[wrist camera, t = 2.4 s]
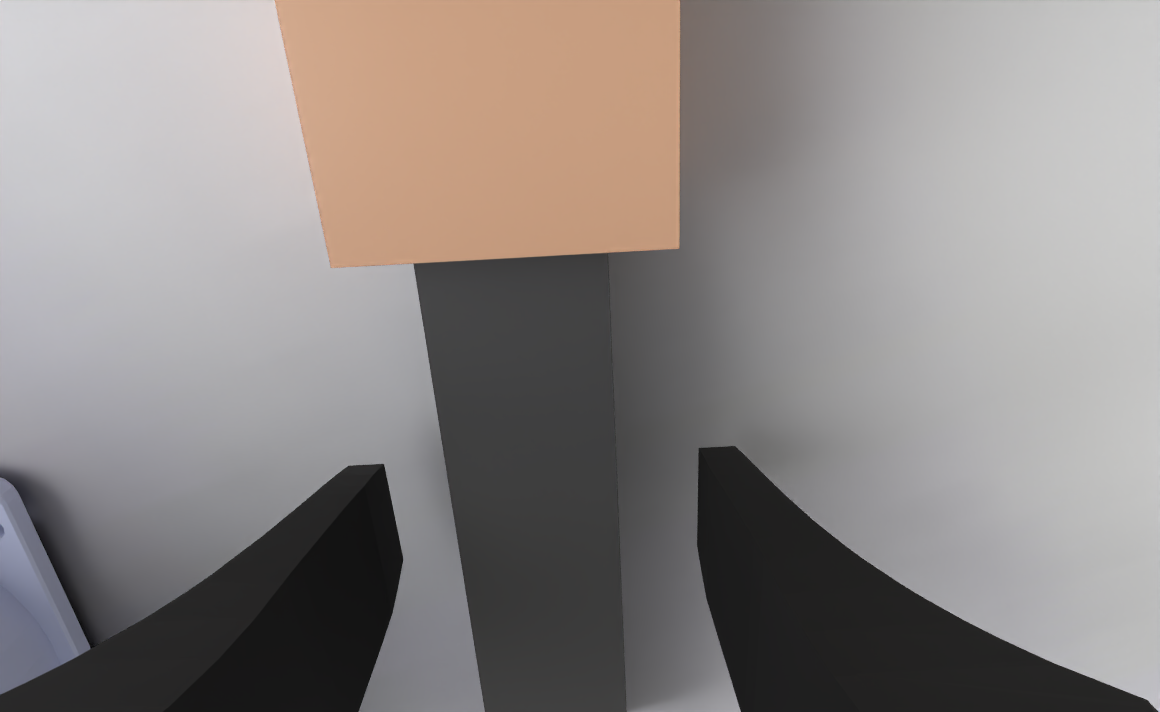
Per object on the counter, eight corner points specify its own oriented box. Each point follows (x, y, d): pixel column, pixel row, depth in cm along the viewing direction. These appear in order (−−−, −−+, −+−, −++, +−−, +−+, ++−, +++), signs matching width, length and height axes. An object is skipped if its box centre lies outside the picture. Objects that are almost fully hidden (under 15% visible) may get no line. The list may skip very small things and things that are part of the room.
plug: (657, 710, 16) (677, 881, 13) (484, 717, 16) (461, 889, 13) (644, -179, 9) (681, -298, 6) (344, -159, 9) (218, -265, 6)
